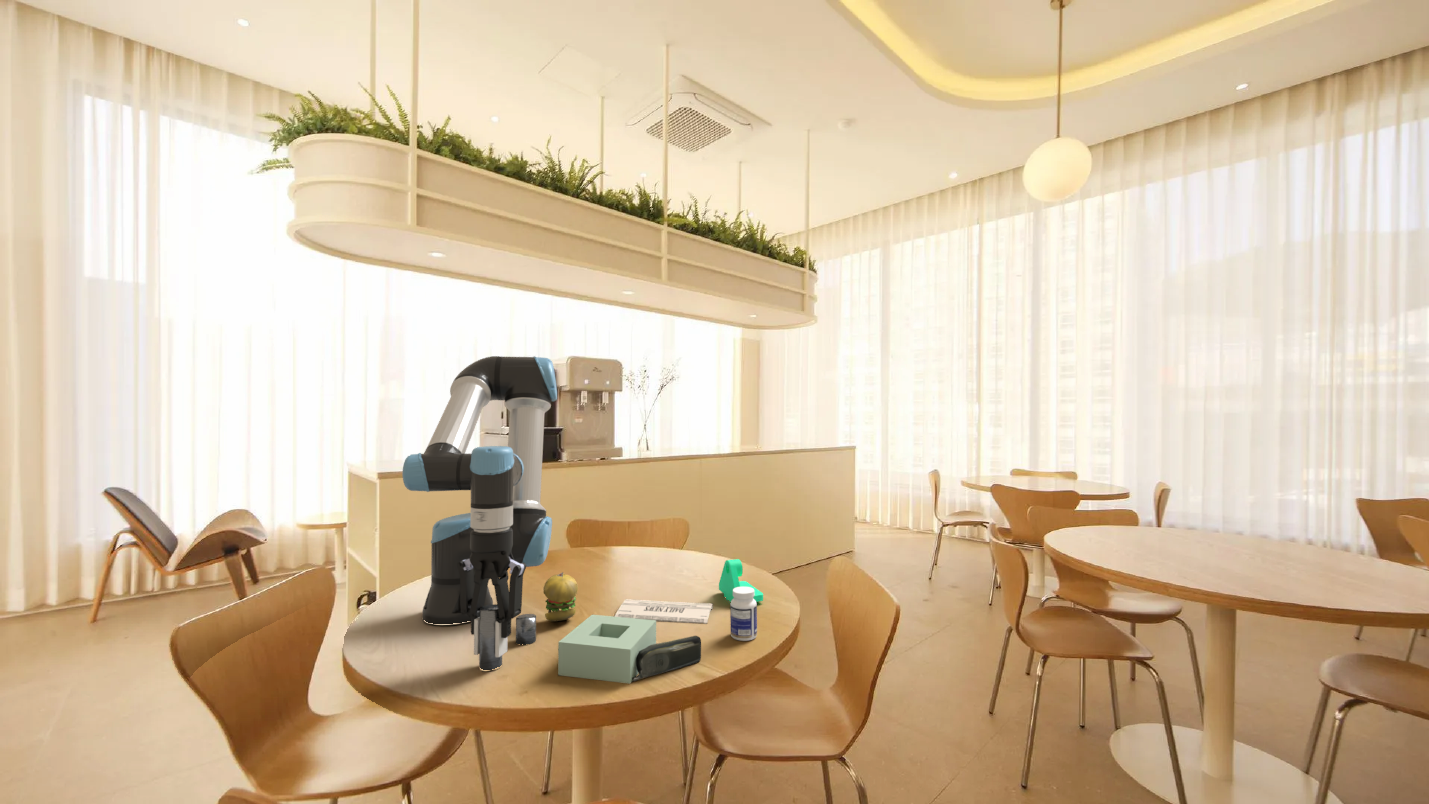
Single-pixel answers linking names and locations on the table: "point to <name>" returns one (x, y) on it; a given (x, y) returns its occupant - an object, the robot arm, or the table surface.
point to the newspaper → (665, 611)
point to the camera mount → (735, 580)
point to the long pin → (488, 638)
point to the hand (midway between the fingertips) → (490, 652)
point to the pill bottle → (743, 614)
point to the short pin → (526, 629)
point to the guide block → (605, 648)
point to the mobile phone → (668, 656)
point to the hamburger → (560, 597)
